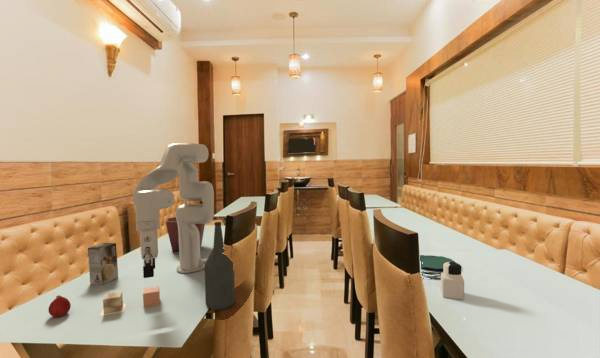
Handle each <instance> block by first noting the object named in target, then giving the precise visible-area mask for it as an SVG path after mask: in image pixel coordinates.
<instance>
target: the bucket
mask: <svg viewBox="0 0 600 358" xmlns="http://www.w3.org/2000/svg"><path fill="white" fill-rule="evenodd" d="M165 226H166V229H167V234H168V239H169V243H170V247H171V250H172V253H177V254H179V233H178V224H177V220H176V216H172V217H167V218H165ZM195 226H196V227H197V228H198V230H199V234H200V249H201V248H202V244H203V237H204V232H205V231H204V230H205V226H206V224H195Z"/></svg>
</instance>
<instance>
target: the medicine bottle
mask: <svg viewBox="0 0 600 358" xmlns="http://www.w3.org/2000/svg"><path fill="white" fill-rule="evenodd" d="M455 262H456V261H455ZM455 262H446V263H444V264H443V270H442V271H443V273H441V272H440V273H441V274H440V275H441V276H440V278H441V279H440V292H441V295H442V298H443V299H454V300H465V280H464V278H463V276H462V265H461V264H460V263H458V262H456V263H455Z"/></svg>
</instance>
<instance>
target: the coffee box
mask: <svg viewBox="0 0 600 358" xmlns="http://www.w3.org/2000/svg"><path fill="white" fill-rule="evenodd" d="M87 255H88V257H87V258H88V270H89V284H90V285H94V286H95V285H97V286H103V285H105V284H108V283H110V282H111V281H113V280H116V279H118V278H119V267H118V256H117V255H118V253H117V243H116V242H102V243H99V244H97V245H93V246H90V247H88V248H87Z"/></svg>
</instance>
